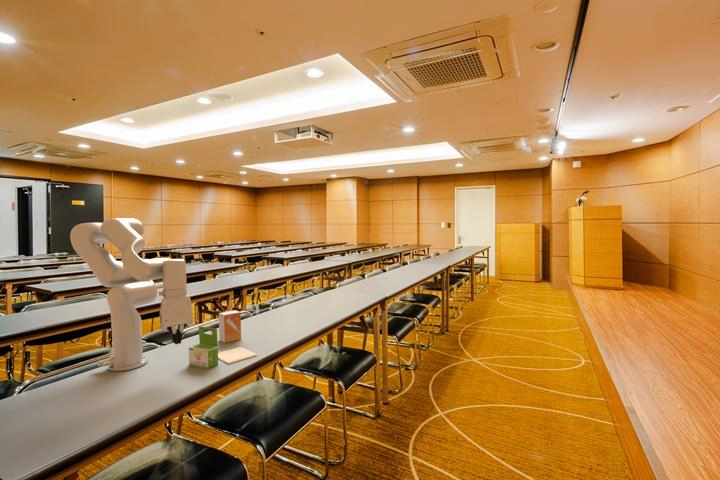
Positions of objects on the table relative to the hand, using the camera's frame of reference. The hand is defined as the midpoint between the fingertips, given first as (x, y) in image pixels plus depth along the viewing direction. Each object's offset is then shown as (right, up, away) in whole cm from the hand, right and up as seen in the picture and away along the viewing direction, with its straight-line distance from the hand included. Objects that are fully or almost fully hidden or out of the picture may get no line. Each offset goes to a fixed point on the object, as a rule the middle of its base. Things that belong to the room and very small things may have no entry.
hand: (177, 343), depth 128 cm
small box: (+6, -10, +37) cm, 39 cm away
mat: (+15, -10, +16) cm, 24 cm away
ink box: (+7, -11, +7) cm, 14 cm away
